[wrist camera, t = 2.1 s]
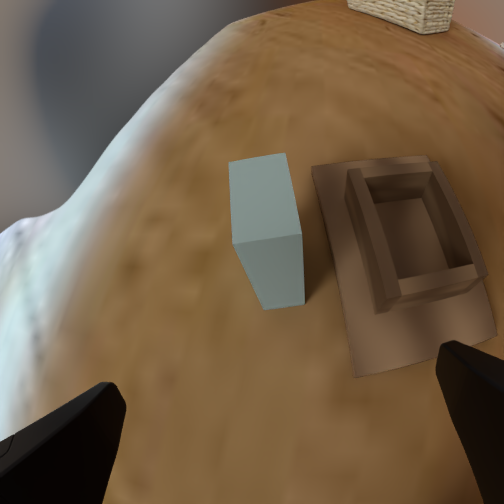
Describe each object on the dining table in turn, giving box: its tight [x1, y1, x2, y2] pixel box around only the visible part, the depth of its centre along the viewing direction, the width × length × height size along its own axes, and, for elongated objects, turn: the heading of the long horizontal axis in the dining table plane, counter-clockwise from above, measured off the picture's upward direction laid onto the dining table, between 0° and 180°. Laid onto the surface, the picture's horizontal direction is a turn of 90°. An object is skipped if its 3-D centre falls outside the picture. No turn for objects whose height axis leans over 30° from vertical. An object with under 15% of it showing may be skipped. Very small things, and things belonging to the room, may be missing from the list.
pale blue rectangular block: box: [229, 153, 305, 310], centre depth 18 cm, size 3×5×10 cm, turn 5°
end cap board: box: [311, 155, 497, 378], centre depth 20 cm, size 12×18×4 cm, turn 5°
